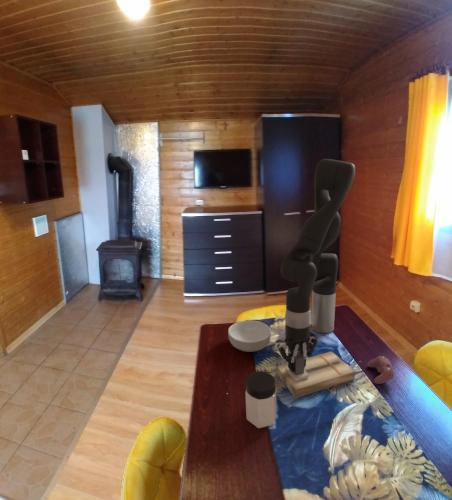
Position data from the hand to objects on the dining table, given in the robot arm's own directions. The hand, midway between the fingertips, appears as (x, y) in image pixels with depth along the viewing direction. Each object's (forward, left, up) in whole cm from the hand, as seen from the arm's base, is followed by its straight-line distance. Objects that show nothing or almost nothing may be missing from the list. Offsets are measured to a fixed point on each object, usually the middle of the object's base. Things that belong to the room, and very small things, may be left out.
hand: (296, 368), depth 98 cm
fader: (0, 0, -2) cm, 2 cm away
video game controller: (+7, +27, -5) cm, 28 cm away
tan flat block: (0, +7, -5) cm, 9 cm away
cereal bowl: (-25, -6, -5) cm, 26 cm away
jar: (+8, -17, -5) cm, 19 cm away
